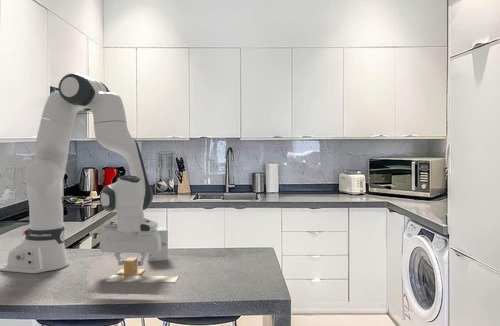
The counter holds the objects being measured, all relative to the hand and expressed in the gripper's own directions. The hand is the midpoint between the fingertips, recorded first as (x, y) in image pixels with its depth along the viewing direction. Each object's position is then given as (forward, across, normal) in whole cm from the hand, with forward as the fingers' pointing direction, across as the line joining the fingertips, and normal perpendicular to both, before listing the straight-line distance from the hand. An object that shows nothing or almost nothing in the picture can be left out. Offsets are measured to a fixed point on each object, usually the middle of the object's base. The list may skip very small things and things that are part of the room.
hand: (130, 265), depth 155 cm
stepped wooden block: (+3, 0, 0) cm, 3 cm away
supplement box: (+4, +4, +20) cm, 20 cm away
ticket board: (+4, +6, -4) cm, 8 cm away
